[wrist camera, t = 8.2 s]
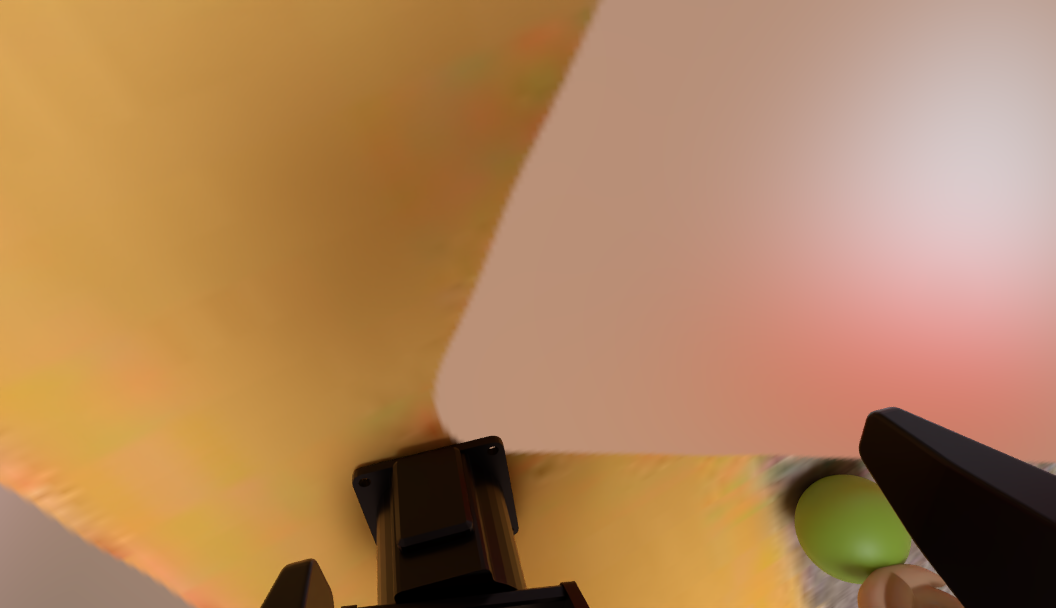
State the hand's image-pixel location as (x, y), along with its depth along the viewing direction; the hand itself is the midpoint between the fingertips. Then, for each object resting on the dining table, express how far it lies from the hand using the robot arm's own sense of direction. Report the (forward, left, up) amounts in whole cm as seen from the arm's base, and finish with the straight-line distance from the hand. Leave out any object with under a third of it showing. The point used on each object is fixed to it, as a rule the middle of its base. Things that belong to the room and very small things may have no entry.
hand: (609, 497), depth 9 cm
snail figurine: (-21, -16, -13) cm, 30 cm away
